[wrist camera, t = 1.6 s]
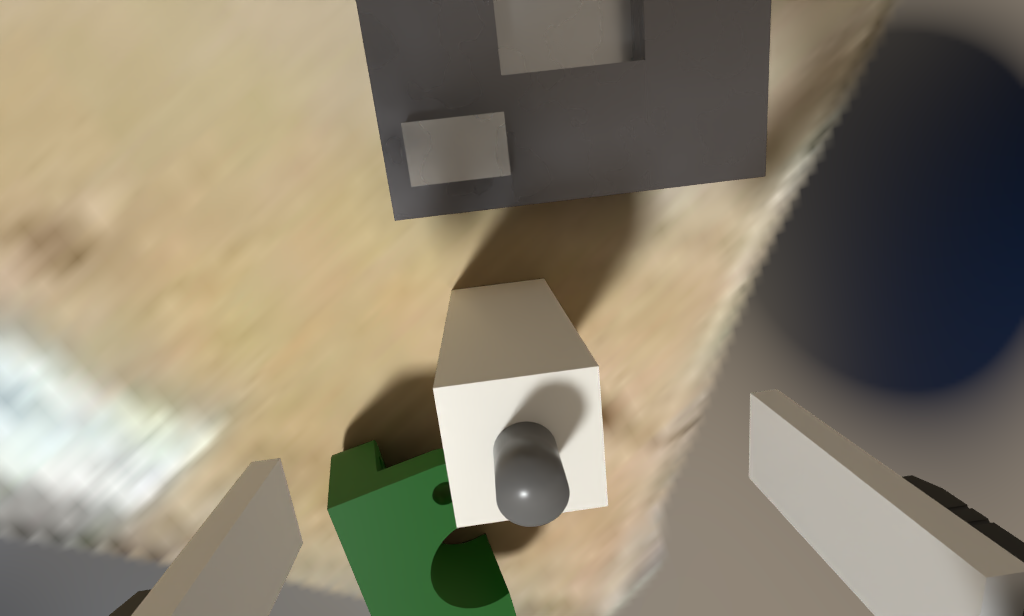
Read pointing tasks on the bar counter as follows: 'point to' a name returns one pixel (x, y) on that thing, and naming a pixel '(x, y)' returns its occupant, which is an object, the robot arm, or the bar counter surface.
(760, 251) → the bar counter surface
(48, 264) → the bar counter surface
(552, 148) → the socket
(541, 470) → the plug
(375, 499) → the clamp
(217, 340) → the bar counter surface
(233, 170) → the bar counter surface
